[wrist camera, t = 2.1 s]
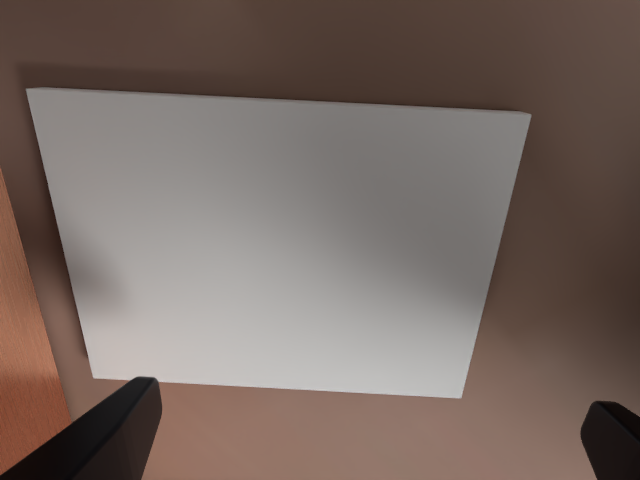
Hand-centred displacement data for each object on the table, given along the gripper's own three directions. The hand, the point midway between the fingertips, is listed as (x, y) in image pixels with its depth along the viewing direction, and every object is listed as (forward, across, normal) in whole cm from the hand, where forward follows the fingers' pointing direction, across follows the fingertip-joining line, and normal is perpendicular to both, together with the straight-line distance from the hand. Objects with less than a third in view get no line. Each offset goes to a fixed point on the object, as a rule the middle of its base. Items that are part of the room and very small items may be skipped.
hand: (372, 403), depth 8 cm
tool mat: (+2, +2, -2) cm, 4 cm away
